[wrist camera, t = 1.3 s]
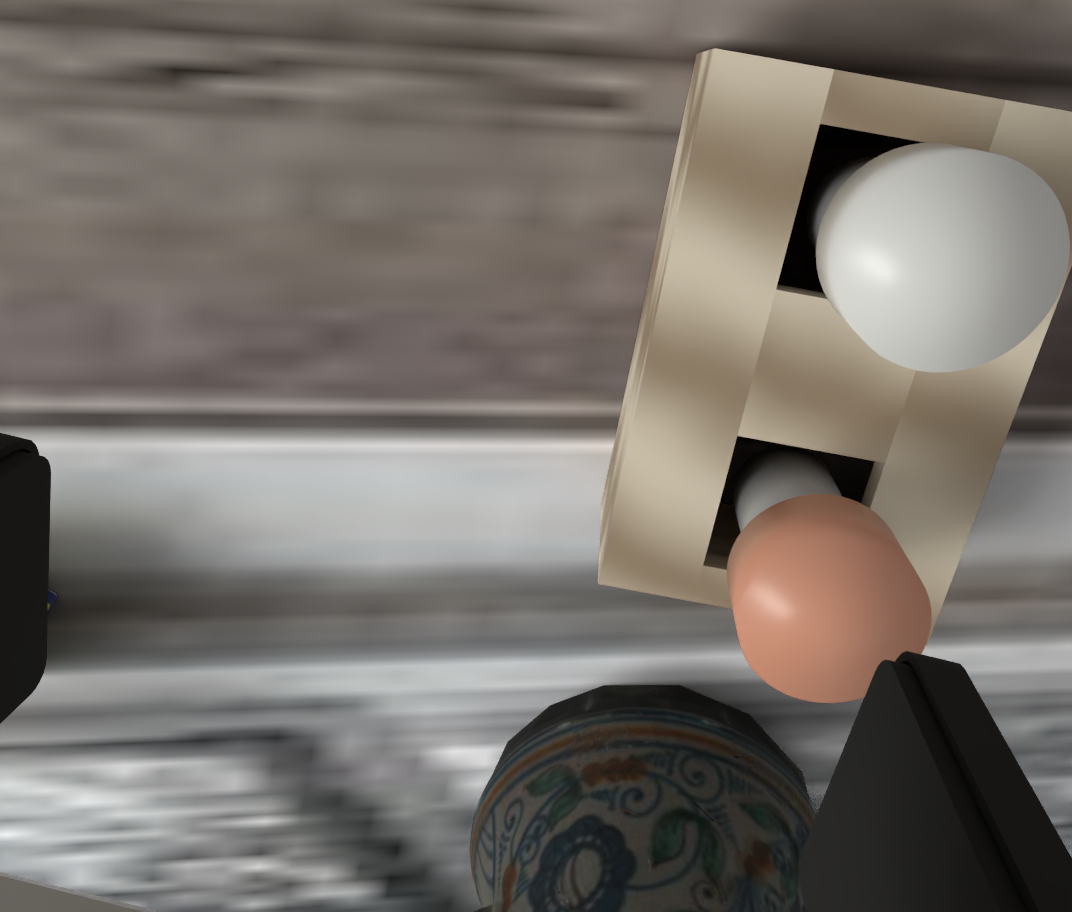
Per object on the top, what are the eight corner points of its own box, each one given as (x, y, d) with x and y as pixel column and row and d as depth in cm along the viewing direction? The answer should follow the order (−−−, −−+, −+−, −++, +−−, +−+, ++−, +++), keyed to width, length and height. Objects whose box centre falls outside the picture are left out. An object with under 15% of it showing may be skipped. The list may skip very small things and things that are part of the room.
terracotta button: (728, 413, 34) (764, 523, 25) (874, 439, 33) (958, 559, 25) (695, 541, 35) (718, 684, 27) (833, 567, 35) (898, 718, 27)
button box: (696, 54, 34) (714, 48, 27) (1029, 113, 34) (1126, 121, 27) (601, 503, 41) (597, 583, 34) (878, 554, 41) (926, 645, 34)
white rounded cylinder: (805, 117, 30) (876, 132, 21) (969, 146, 30) (1105, 173, 21) (763, 279, 32) (814, 351, 23) (916, 307, 32) (1022, 390, 23)
